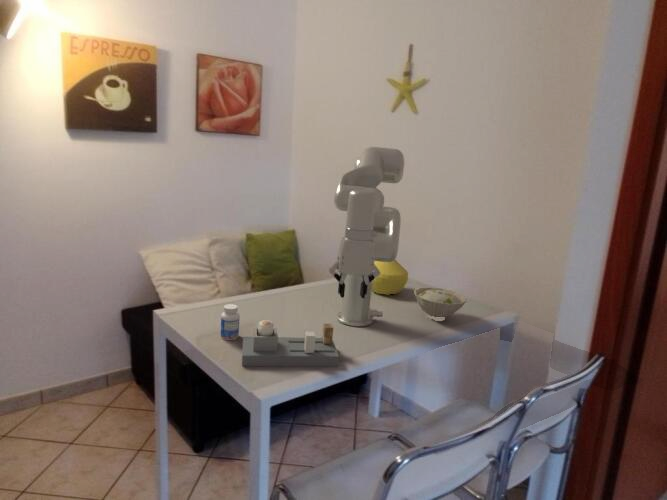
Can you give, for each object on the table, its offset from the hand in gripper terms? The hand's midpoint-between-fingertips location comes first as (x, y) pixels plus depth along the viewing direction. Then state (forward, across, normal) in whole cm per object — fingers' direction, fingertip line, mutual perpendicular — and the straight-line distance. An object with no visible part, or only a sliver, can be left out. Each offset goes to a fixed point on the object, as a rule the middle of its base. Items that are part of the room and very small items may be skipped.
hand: (351, 295), depth 135 cm
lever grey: (+14, +12, +6) cm, 20 cm away
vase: (+18, -28, -58) cm, 67 cm away
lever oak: (+14, +6, 0) cm, 15 cm away
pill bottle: (+18, +34, -10) cm, 39 cm away
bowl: (+18, -40, -30) cm, 53 cm away
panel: (+17, +17, +3) cm, 25 cm away
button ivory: (+12, +24, +3) cm, 27 cm away
